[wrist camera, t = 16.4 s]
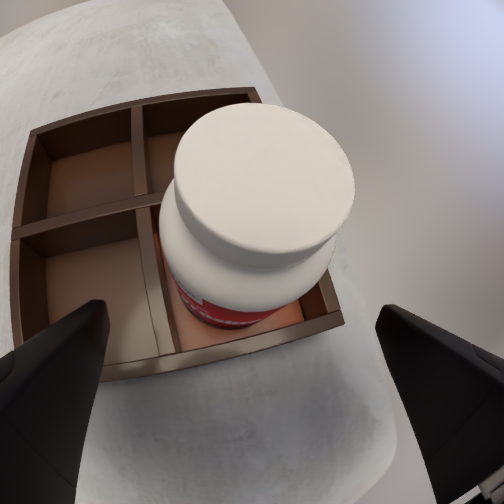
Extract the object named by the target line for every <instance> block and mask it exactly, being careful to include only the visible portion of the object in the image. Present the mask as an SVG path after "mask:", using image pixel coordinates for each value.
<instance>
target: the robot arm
mask: <svg viewBox="0 0 504 504" xmlns="http://www.w3.org/2000/svg"><path fill="white" fill-rule="evenodd" d="M375 330H376V333H377V336H378V339H379V342H380V345H381V348H382V351H383V354H384V357H385V360H386V363H387V366H388V369H389V371H390V373H391V376H392V378H393V380H394V383H395V385H396V388H397V390H398V392H399V395H400V397H401V400H402V402H403V404H404V407H405V410H406V412H407V415H408V417H409V420H410V423H411V425H412V428H413V431H414V433H415V436H416V439H417V442H418V445H419V448H420V450H421V453H422V456H423V459H424V461H425V466H426V469H427V472H428V475H429V478H430V482H431V485H432V488H433V492H434V495H435V499H436V502H437V504H450V503H451V502H453V501H454V500H456V499H458V498H459V497H461V496H462V495H464V494H465V493H467V492H468V491H470V490H471V489H473V488H474V487H475V486H477V485H478V487H479V489H480V490H481V492H480V493H478V494H477V495H476V496H474V497H473V498H472V499H470V500H469V501H468V502H466V503H465V504H504V359H502V358H500V357H498V356H496V355H494V354H492V353H489V352H487V351H485V350H483V349H481V348H479V347H477V346H475V345H474V344H471V343H470V342H468V341H466V340H464V339H462V338H460V337H458V336H456V335H454V334H452V333H450V332H448V331H446V330H444V329H442V328H440V327H438V326H436V325H434V324H432V323H430V322H428V321H427V320H425V319H422V318H421V317H419V316H417V315H415V314H413V313H410V312H409V311H407V310H405V309H403V308H400V307H399V306H397V305H394V304H389V305H384V306H383V307H382V309H381V311H380V314H379V317H378V319H377V321H376V325H375ZM109 332H110V319H109V314H108V309H107V304H106V302H105V301H104V300H98V299H92V300H90V301H89V302H87V303H85V304H84V305H82V306H81V307H79V308H77V309H76V310H74V311H72V312H71V313H69V314H68V315H66V316H65V317H63V318H61V319H60V320H58V321H57V322H55V323H53V324H52V325H50V326H49V327H47V328H46V329H44V330H43V331H41V332H39V333H38V334H36V335H35V336H33V337H32V338H30V339H29V340H27V341H26V342H24V343H23V344H21V345H20V346H18V347H17V348H15V349H14V351H11V352H9V353H8V354H6V355H5V356H3V357H2V358H0V504H75V496H76V488H77V481H78V474H79V468H80V462H81V457H82V451H83V446H84V441H85V437H86V432H87V427H88V423H89V419H90V415H91V410H92V406H93V403H94V399H95V395H96V391H97V387H98V384H99V380H100V377H101V373H102V369H103V364H104V358H105V352H106V347H107V342H108V337H109Z"/></svg>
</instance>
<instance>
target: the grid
mask: <svg viewBox="0 0 504 504" xmlns="http://www.w3.org/2000/svg"><path fill="white" fill-rule="evenodd" d="M241 103H262V101H261V99H260V97H259V95H258V93H257V91H256V89H255V87H237V88H221V89H209V90H199V91H190V92H182V93H175V94H168V95H161V96H155V97H149V98H144V99H139V100H134V101H129V102H124V103H120V104H115V105H111V106H107V107H103V108H99V109H95V110H91V111H88V112H84V113H81V114H77V115H74V116H71V117H68V118H64V119H61V120H58V121H55V122H52V123H50V124H47V125H44V126H41V127H38V128H36V129H33V130H31V131H30V135H29V139H28V142H27V146H26V150H25V154H24V158H23V162H22V167H21V172H20V177H19V182H18V187H17V193H16V200H15V207H14V214H13V223H12V234H11V247H10V309H11V323H12V333H13V342H14V349H15V348H17V347H18V346H20V345H21V344H23V343H24V342H26V341H27V340H29V339H30V338H32V337H33V336H35V335H36V334H38V333H39V332H41V331H43V330H44V329H46V328H47V327H49V326H50V325H52V324H53V323H55V322H57V321H58V320H60V319H61V318H63V317H65V316H66V315H68V314H69V313H71V312H72V311H74V310H76V309H77V308H79V307H81V306H82V305H84V304H85V303H87V302H89V301H90V300H92V299H98V300H104V301H105V302H106V304H107V309H108V314H109V319H110V332H109V337H108V342H107V347H106V352H105V358H104V364H103V369H102V373H101V377H100V380H99V383H102V382H110V381H118V380H125V379H131V378H138V377H144V376H150V375H156V374H162V373H167V372H172V371H178V370H183V369H187V368H192V367H197V366H202V365H206V364H210V363H215V362H219V361H223V360H227V359H231V358H235V357H239V356H243V355H247V354H251V353H255V352H258V351H262V350H266V349H269V348H273V347H276V346H280V345H283V344H286V343H290V342H293V341H296V340H299V339H302V338H306V337H309V336H312V335H315V334H318V333H321V332H324V331H327V330H330V329H333V328H336V327H338V326H341V325H344V324H345V322H344V319H343V315H342V312H341V310H340V305H339V302H338V299H337V296H336V292H335V289H334V286H333V283H332V280H331V277H330V274H329V271H328V268H327V269H326V271H325V272H324V274H323V276H322V277H321V278H320V279H319V281H318V282H317V283H316V284H315V285H314V286H313V287H312V288H311V289H310V290H309V291H308V292H306V293H305V294H304V295H302V296H301V297H300V298H298V299H297V300H295V301H294V302H292V303H290V304H289V305H287V306H285V307H284V308H282V309H280V310H279V311H277V312H276V313H274V314H272V315H271V316H269V317H267V318H265V319H264V320H262V321H260V322H258V323H256V324H254V325H252V326H249V327H246V328H242V329H236V330H226V329H219V328H215V327H212V326H210V325H208V324H206V323H204V322H202V321H200V320H199V319H198V318H196V317H195V316H194V315H193V314H192V313H191V312H190V311H189V310H188V309H187V308H186V306H185V305H184V303H183V301H182V300H181V298H180V295H179V293H178V290H177V288H176V285H175V283H174V280H173V278H172V274H171V272H170V268H169V266H168V263H167V260H166V257H165V254H164V251H163V247H162V243H161V238H160V231H159V215H160V209H161V204H162V201H163V197H164V195H165V192H166V190H167V188H168V187H169V185H170V183H171V182H172V180H173V179H174V160H175V154H176V151H177V148H178V145H179V143H180V141H181V139H182V137H183V135H184V134H185V133H186V131H187V130H188V129H189V128H190V127H191V126H192V125H193V124H194V123H195V122H196V121H197V120H198V119H200V118H201V117H203V116H204V115H206V114H207V113H210V112H212V111H214V110H216V109H219V108H222V107H225V106H229V105H234V104H241Z"/></svg>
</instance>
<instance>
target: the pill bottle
mask: <svg viewBox="0 0 504 504" xmlns="http://www.w3.org/2000/svg"><path fill="white" fill-rule="evenodd" d="M354 194H355V184H354V177H353V173H352V169H351V167H350V164H349V162H348V159H347V157H346V155H345V154H344V152H343V150H342V149H341V147H340V146H339V144H338V143H337V142H336V141H335V139H334V138H333V137H332V136H331V135H330V134H329V133H328V132H326V131H325V130H324V129H323V128H322V127H321V126H319V125H318V124H317V123H315V122H314V121H312V120H311V119H309V118H307V117H305V116H303V115H301V114H299V113H297V112H294V111H292V110H289V109H286V108H283V107H279V106H275V105H269V104H262V103H241V104H234V105H229V106H225V107H222V108H219V109H216V110H214V111H212V112H210V113H207V114H206V115H204V116H203V117H201V118H200V119H198V120H197V121H196V122H195V123H194V124H193V125H192V126H191V127H190V128H189V129H188V130H187V131H186V133H185V134H184V135H183V137H182V139H181V141H180V143H179V145H178V148H177V151H176V154H175V160H174V179H173V180H172V182H171V183H170V185H169V187H168V188H167V190H166V192H165V195H164V197H163V201H162V204H161V209H160V215H159V231H160V238H161V243H162V247H163V251H164V254H165V257H166V260H167V263H168V266H169V268H170V272H171V274H172V278H173V280H174V283H175V285H176V288H177V290H178V293H179V295H180V298H181V300H182V301H183V303H184V305H185V306H186V308H187V309H188V310H189V311H190V312H191V313H192V314H193V315H194V316H195V317H196V318H198V319H199V320H200V321H202V322H204V323H206V324H208V325H210V326H212V327H215V328H219V329H226V330H236V329H242V328H246V327H249V326H252V325H254V324H256V323H258V322H260V321H262V320H264V319H265V318H267V317H269V316H271V315H272V314H274V313H276V312H277V311H279V310H280V309H282V308H284V307H285V306H287V305H289V304H290V303H292V302H294V301H295V300H297V299H298V298H300V297H301V296H302V295H304V294H305V293H306V292H308V291H309V290H310V289H311V288H312V287H313V286H314V285H315V284H316V283H317V282H318V281H319V279H320V278H321V277H322V276H323V274H324V272H325V271H326V269H327V267H328V265H329V263H330V261H331V258H332V256H333V253H334V249H335V244H336V236H337V232H338V231H339V229H340V228H341V227H342V226H343V224H344V223H345V221H346V219H347V218H348V216H349V214H350V211H351V208H352V205H353V201H354Z"/></svg>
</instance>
